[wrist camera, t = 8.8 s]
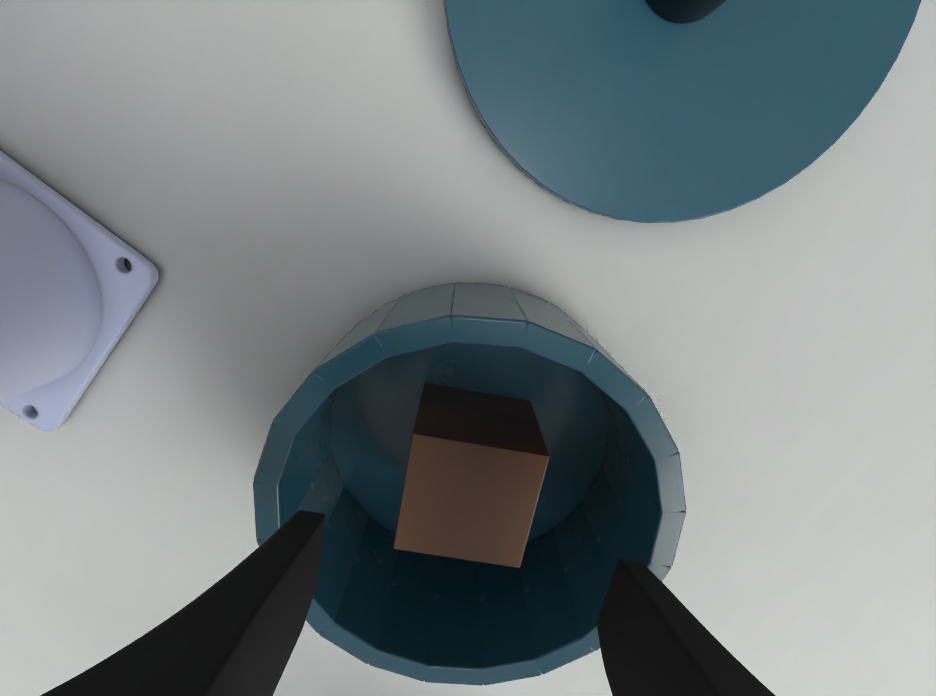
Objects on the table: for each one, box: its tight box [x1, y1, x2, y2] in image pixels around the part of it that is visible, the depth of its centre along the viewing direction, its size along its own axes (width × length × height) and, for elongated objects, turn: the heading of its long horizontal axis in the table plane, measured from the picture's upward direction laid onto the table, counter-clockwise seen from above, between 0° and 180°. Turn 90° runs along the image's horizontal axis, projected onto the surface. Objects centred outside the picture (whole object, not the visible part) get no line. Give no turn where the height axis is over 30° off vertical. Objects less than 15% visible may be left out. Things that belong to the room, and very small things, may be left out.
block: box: [393, 383, 550, 568], centre depth 16 cm, size 4×4×4 cm
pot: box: [253, 283, 686, 685], centre depth 15 cm, size 12×12×5 cm
